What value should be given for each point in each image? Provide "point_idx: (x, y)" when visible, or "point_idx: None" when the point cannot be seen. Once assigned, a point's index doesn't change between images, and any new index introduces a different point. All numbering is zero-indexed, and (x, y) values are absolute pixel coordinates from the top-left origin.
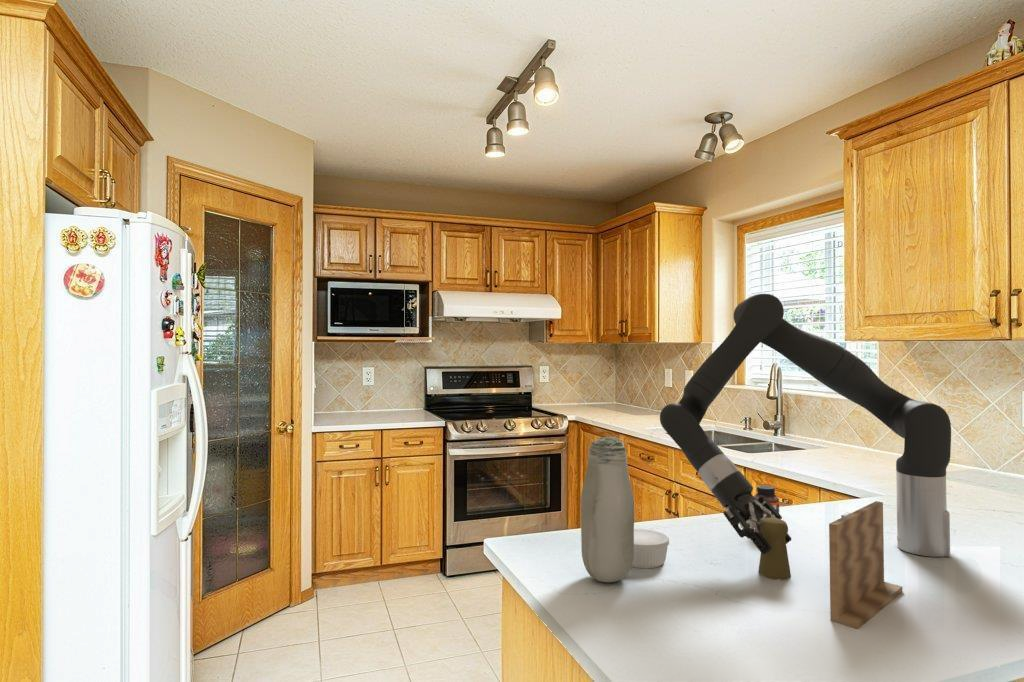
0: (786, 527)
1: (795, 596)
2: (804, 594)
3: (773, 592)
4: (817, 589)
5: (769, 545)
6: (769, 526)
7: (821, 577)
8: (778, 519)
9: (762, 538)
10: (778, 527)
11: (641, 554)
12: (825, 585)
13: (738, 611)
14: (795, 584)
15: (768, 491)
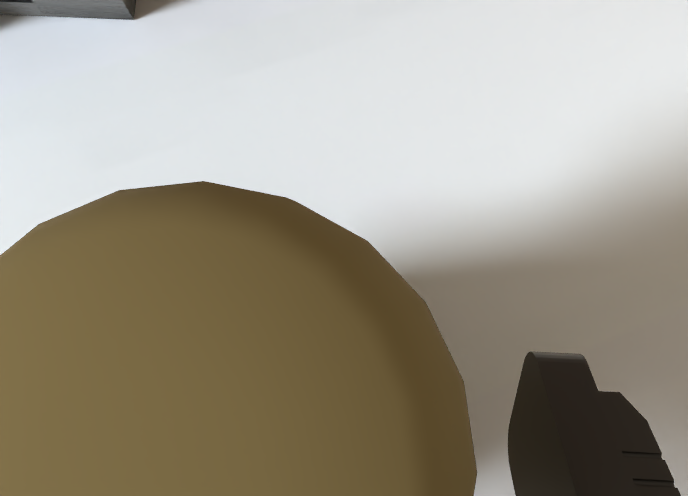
0: (206, 182)
1: (612, 130)
2: (528, 101)
3: (669, 266)
4: (369, 71)
5: (561, 371)
6: (469, 445)
7: (108, 129)
8: (83, 370)
9: (628, 480)
10: (384, 271)
11: None
12: (252, 59)
13: None
14: (390, 212)
15: None
